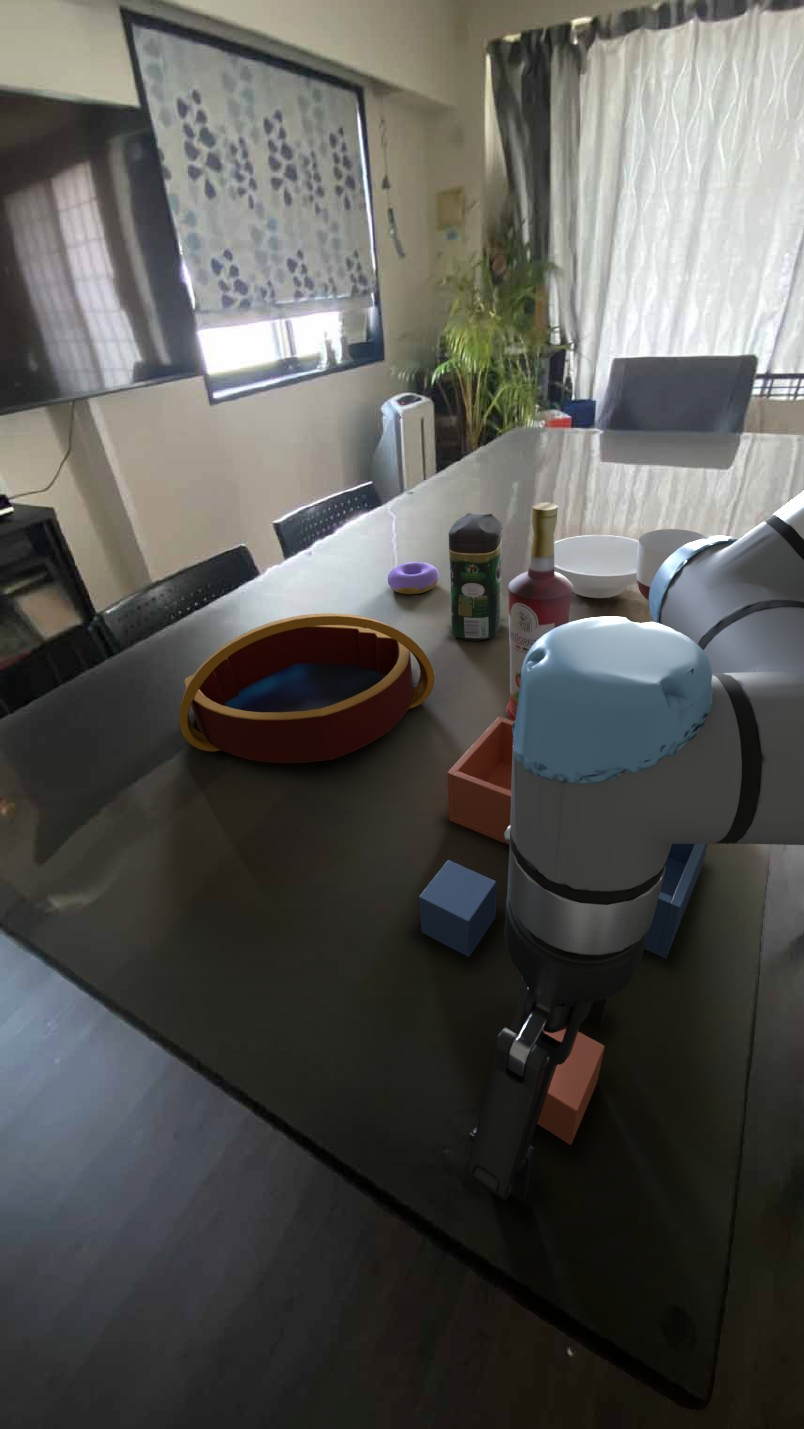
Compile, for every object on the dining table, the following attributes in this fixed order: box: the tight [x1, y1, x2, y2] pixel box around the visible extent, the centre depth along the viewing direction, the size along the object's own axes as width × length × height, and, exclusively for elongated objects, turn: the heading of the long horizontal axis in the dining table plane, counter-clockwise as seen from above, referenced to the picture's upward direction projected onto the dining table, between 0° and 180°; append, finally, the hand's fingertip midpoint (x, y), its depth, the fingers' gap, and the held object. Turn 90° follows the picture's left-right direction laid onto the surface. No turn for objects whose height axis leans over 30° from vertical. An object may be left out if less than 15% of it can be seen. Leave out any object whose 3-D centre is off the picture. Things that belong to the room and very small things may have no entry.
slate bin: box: [644, 844, 709, 959], centre depth 59 cm, size 12×12×7 cm
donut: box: [387, 561, 440, 595], centre depth 121 cm, size 10×9×5 cm
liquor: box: [505, 501, 573, 721], centre depth 76 cm, size 7×7×28 cm
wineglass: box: [636, 528, 707, 602], centre depth 85 cm, size 8×9×20 cm
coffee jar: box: [448, 512, 503, 642], centre depth 101 cm, size 10×8×19 cm
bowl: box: [554, 534, 639, 599], centre depth 113 cm, size 20×20×7 cm
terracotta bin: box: [446, 716, 514, 846], centre depth 69 cm, size 12×12×7 cm
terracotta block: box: [537, 1029, 605, 1146], centre depth 45 cm, size 5×5×5 cm
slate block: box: [418, 859, 497, 958], centre depth 57 cm, size 5×5×5 cm
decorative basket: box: [178, 612, 435, 764], centre depth 84 cm, size 34×29×15 cm
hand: (549, 1091), depth 46 cm, fingers open, 13 cm apart
